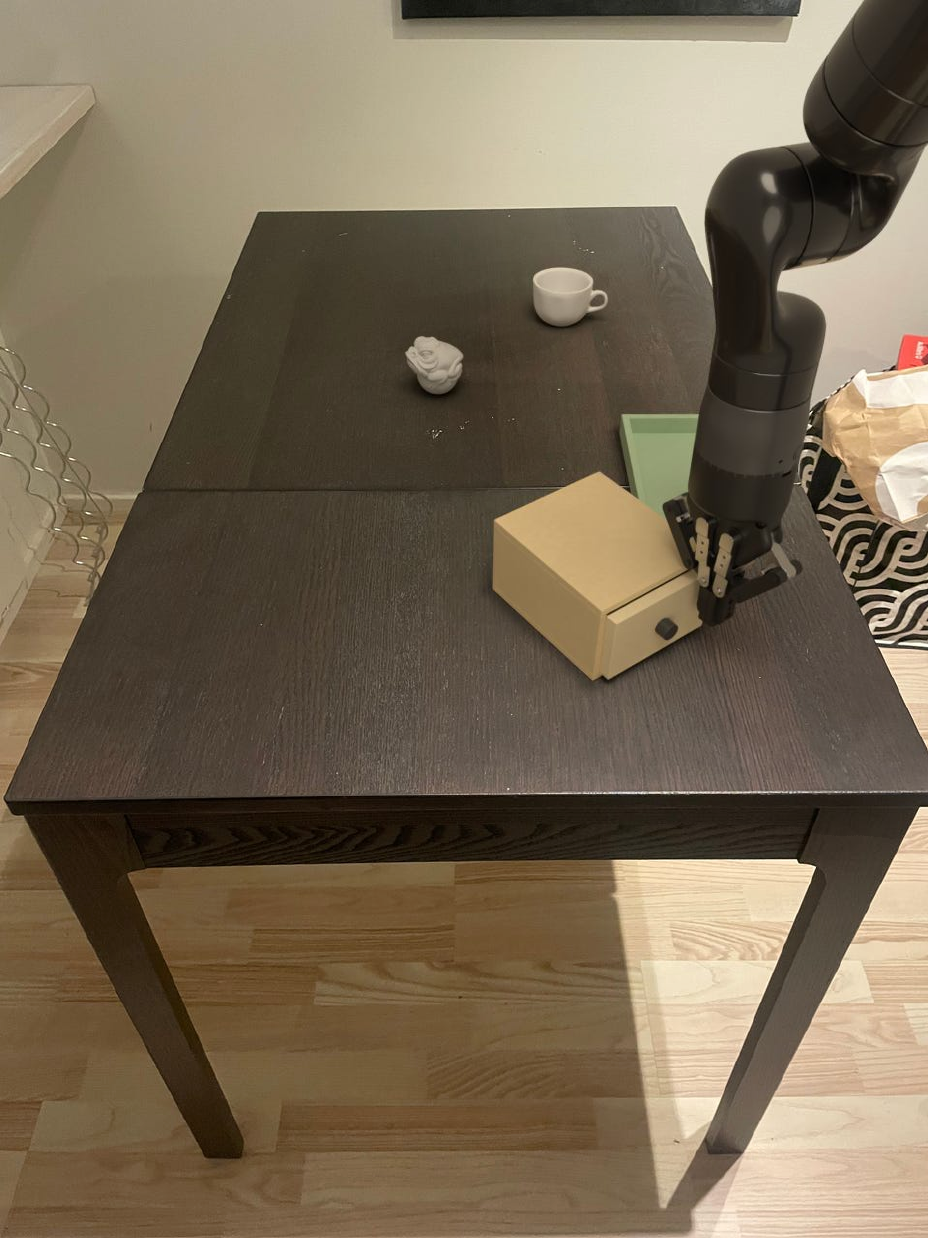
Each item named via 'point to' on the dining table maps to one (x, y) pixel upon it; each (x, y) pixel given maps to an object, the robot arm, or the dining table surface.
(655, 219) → the dining table surface
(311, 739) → the dining table surface
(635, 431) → the tray
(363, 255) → the dining table surface
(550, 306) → the teacup
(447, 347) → the frog figurine
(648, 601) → the drawer
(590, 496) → the cabinet
